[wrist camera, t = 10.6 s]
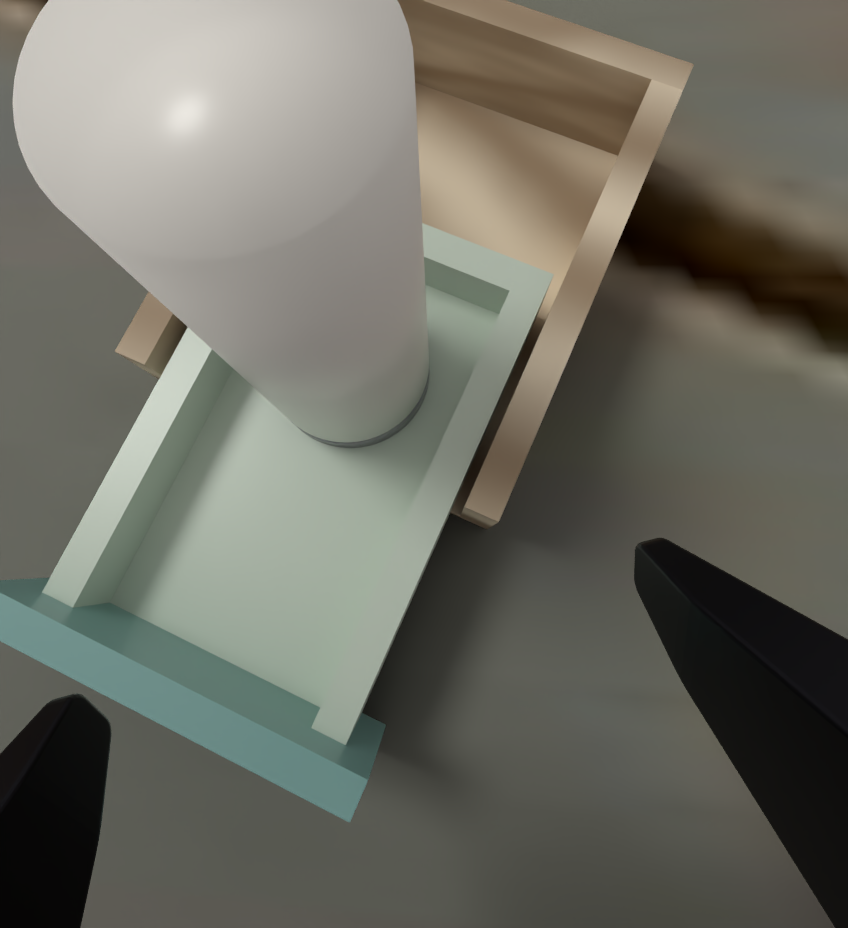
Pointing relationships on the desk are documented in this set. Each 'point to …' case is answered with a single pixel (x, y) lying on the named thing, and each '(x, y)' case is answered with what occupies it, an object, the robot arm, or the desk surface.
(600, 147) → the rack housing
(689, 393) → the desk surface
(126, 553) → the tray
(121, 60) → the white rounded cylinder
